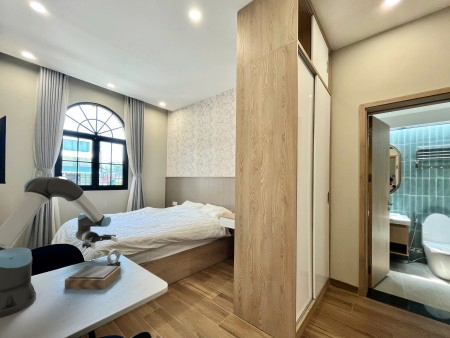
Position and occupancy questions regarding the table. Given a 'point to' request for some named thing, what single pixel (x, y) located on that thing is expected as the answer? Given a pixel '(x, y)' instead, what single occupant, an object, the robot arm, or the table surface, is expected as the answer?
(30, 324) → the table surface
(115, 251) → the watch
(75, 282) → the riser
